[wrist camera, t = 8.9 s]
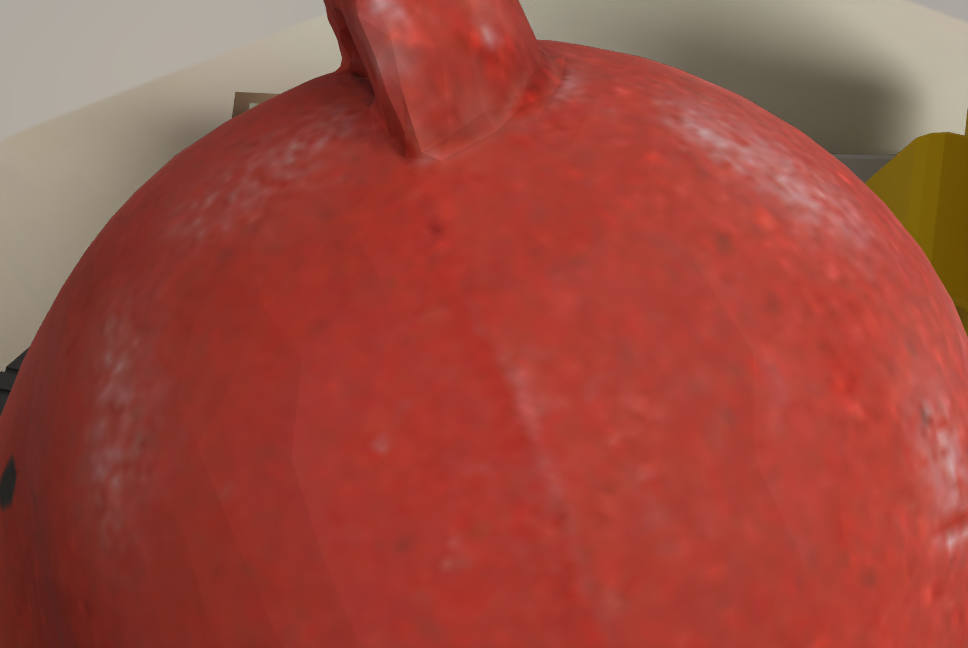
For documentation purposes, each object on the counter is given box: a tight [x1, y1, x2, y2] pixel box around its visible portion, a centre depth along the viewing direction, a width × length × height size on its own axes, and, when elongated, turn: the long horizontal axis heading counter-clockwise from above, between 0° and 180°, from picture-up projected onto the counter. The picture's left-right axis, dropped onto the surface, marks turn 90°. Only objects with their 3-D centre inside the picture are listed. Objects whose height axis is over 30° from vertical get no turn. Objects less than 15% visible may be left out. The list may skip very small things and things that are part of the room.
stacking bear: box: [0, 0, 968, 648], centre depth 12 cm, size 11×10×18 cm
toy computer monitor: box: [831, 111, 968, 337], centre depth 31 cm, size 20×8×16 cm, turn 167°
